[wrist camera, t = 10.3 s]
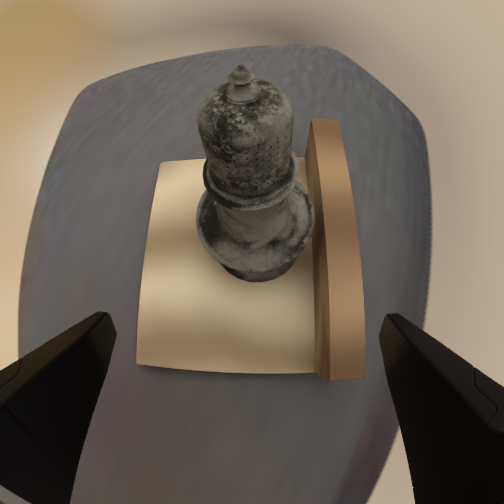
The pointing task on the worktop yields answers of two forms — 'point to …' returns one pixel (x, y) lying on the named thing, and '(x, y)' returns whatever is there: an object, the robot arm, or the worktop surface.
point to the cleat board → (255, 293)
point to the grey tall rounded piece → (251, 180)
